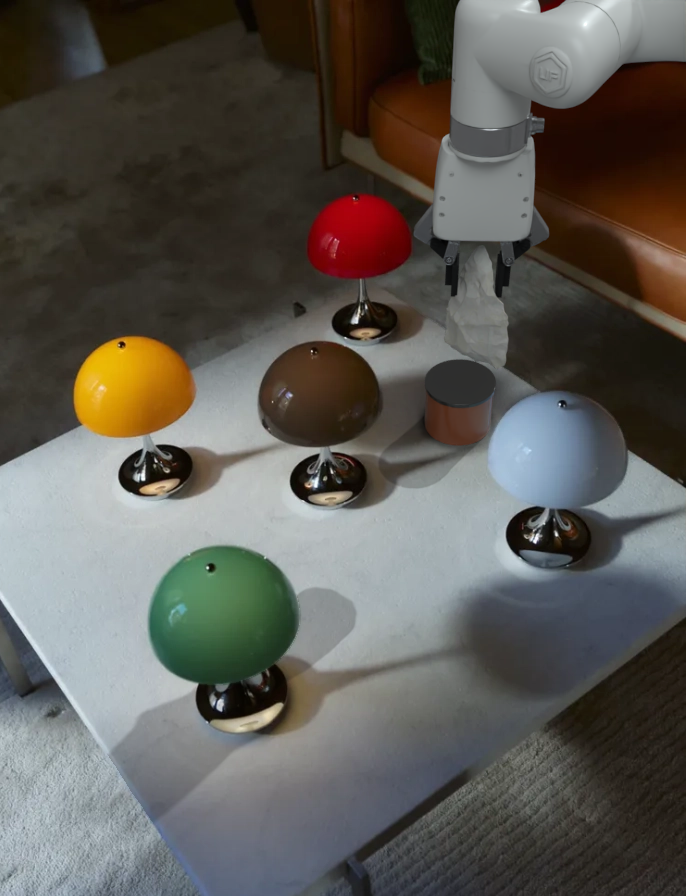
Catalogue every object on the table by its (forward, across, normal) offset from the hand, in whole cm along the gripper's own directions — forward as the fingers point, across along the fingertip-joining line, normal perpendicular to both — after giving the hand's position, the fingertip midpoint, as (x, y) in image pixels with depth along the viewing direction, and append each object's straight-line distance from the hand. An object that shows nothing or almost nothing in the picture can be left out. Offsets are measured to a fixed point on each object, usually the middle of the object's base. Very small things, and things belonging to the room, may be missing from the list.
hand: (476, 288), depth 105 cm
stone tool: (+10, 0, 0) cm, 10 cm away
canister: (+29, +1, -10) cm, 31 cm away
